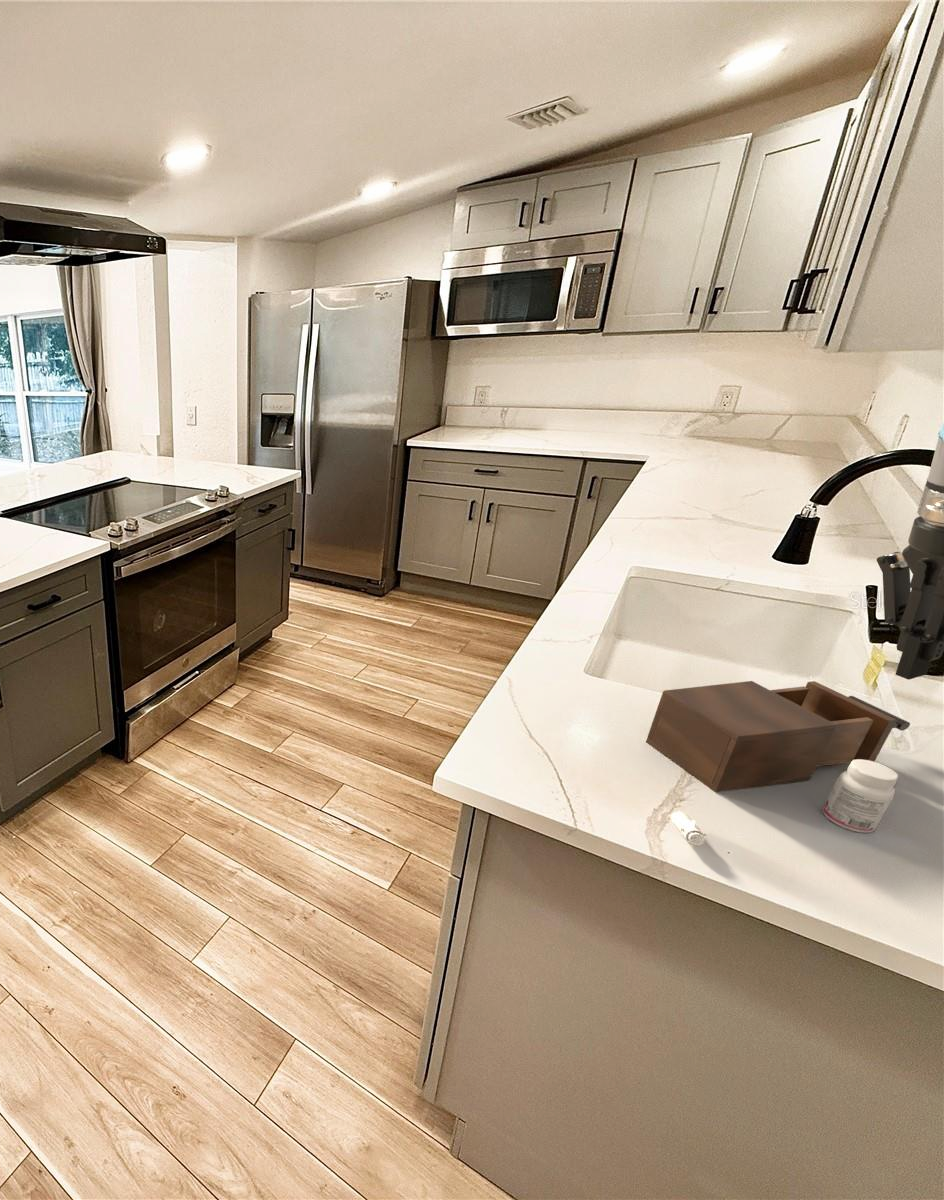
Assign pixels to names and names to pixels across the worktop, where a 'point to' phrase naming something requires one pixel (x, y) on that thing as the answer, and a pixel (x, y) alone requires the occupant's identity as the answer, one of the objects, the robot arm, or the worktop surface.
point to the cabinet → (739, 735)
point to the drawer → (846, 722)
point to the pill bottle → (861, 796)
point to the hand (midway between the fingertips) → (910, 674)
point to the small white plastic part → (688, 828)
